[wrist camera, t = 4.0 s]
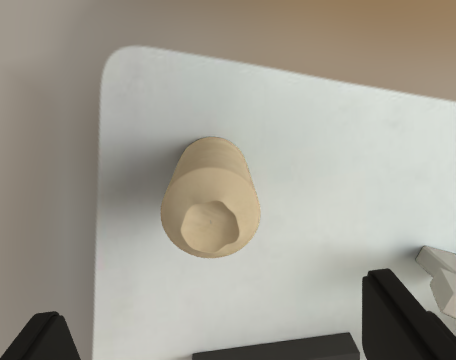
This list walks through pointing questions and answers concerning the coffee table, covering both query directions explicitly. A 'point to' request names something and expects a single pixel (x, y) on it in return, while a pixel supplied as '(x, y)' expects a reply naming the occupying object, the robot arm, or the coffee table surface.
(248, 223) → the candle
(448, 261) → the lighter
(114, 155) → the coffee table surface
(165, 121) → the coffee table surface
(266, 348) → the scale
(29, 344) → the robot arm
